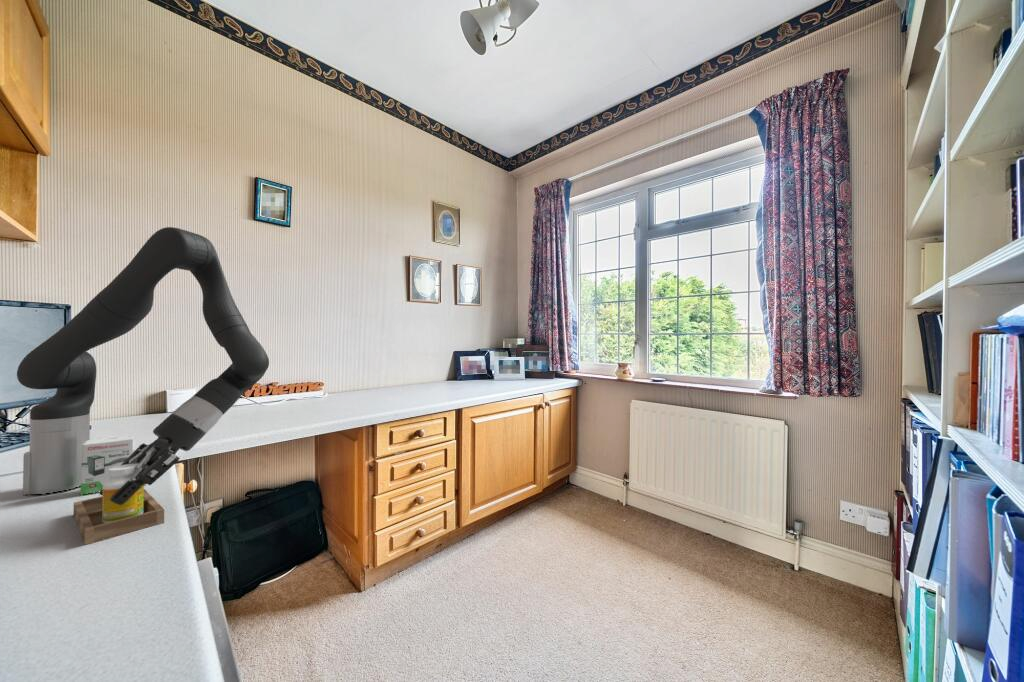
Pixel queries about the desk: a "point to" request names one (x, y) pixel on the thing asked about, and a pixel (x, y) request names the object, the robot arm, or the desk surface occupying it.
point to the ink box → (102, 460)
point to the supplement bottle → (111, 486)
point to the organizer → (96, 530)
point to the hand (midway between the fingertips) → (109, 499)
